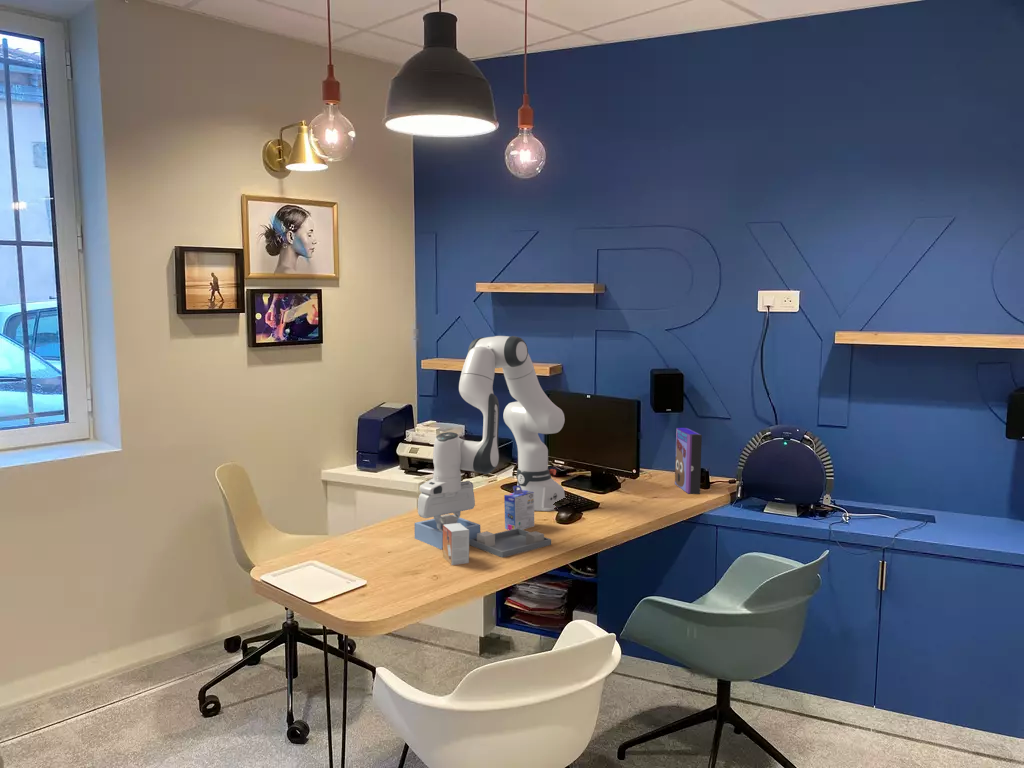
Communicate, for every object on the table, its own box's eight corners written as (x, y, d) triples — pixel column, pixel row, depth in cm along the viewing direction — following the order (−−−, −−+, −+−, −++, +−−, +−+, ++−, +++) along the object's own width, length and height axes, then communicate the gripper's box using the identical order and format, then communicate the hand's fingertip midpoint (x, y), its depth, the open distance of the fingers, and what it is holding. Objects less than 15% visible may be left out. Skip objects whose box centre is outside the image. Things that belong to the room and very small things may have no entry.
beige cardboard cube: (448, 529, 261) (448, 514, 260) (455, 532, 258) (456, 516, 257) (438, 531, 258) (438, 516, 258) (445, 534, 255) (445, 518, 254)
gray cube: (535, 541, 256) (535, 531, 256) (544, 544, 253) (544, 534, 253) (525, 544, 254) (526, 533, 253) (534, 547, 250) (534, 536, 250)
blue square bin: (452, 531, 269) (452, 514, 268) (480, 541, 257) (480, 524, 257) (414, 539, 259) (414, 522, 258) (441, 551, 248) (441, 533, 247)
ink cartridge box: (523, 524, 278) (523, 482, 277) (535, 527, 274) (535, 485, 273) (503, 530, 271) (503, 487, 269) (515, 533, 267) (515, 490, 266)
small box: (442, 558, 241) (442, 524, 240) (460, 556, 243) (460, 522, 242) (451, 567, 233) (451, 531, 232) (469, 564, 236) (469, 529, 234)
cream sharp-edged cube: (486, 542, 256) (486, 531, 255) (494, 545, 253) (494, 534, 252) (476, 544, 253) (476, 533, 253) (484, 547, 250) (484, 536, 250)
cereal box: (674, 484, 340) (676, 427, 337) (685, 483, 340) (687, 427, 338) (688, 494, 322) (690, 434, 320) (699, 493, 323) (701, 434, 320)
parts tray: (517, 534, 266) (517, 528, 265) (551, 546, 254) (551, 539, 253) (469, 546, 253) (469, 539, 252) (502, 559, 241) (502, 551, 240)
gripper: (467, 478, 265) (467, 519, 267) (414, 487, 252) (415, 530, 254) (479, 481, 261) (478, 523, 262) (426, 490, 247) (426, 534, 249)
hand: (447, 526), depth 258 cm, fingers closed on beige cardboard cube, 4 cm apart
